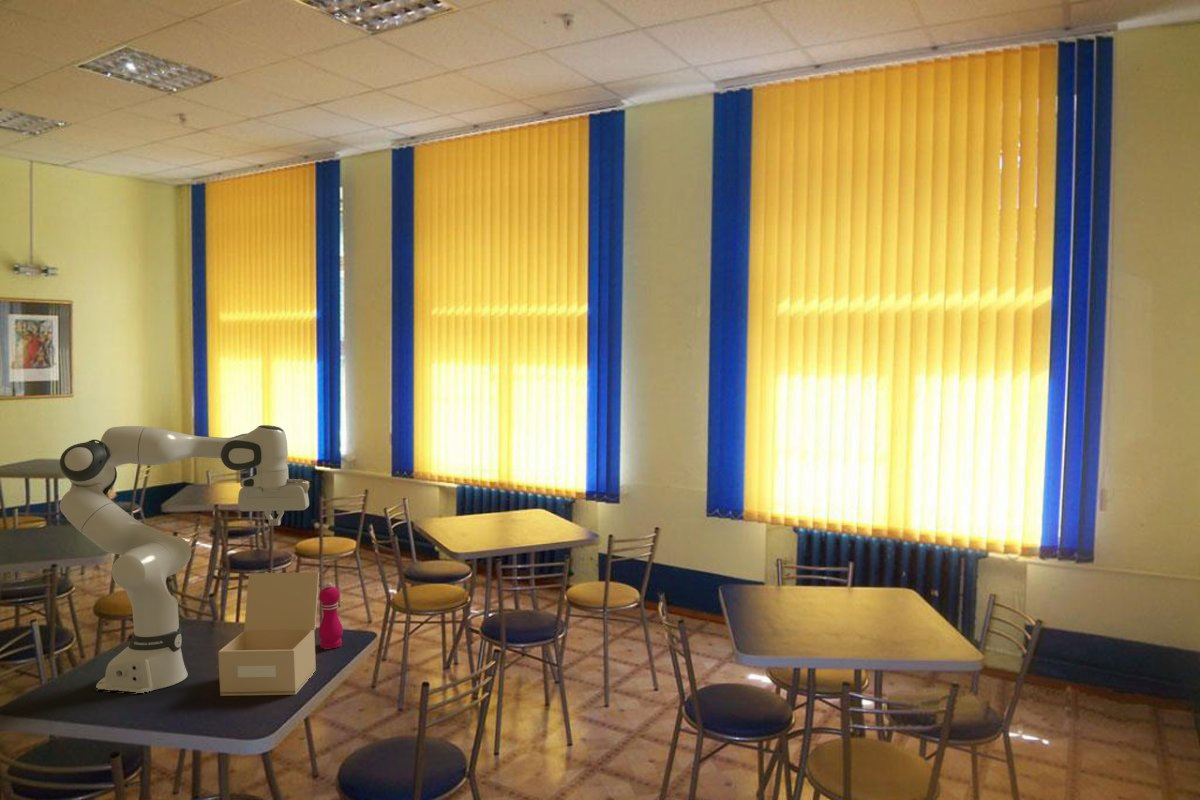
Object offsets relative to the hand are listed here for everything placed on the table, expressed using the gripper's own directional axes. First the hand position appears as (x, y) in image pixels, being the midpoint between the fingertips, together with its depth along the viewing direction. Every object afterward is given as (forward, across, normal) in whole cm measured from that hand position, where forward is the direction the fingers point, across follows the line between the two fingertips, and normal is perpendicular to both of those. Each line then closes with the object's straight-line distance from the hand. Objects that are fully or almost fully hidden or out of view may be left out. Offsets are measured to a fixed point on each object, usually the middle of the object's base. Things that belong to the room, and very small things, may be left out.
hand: (274, 525), depth 250 cm
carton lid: (+19, -6, +12) cm, 24 cm away
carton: (+39, -6, +23) cm, 46 cm away
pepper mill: (+39, -14, -5) cm, 42 cm away
